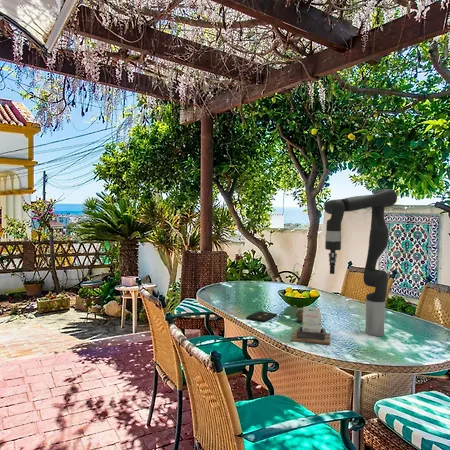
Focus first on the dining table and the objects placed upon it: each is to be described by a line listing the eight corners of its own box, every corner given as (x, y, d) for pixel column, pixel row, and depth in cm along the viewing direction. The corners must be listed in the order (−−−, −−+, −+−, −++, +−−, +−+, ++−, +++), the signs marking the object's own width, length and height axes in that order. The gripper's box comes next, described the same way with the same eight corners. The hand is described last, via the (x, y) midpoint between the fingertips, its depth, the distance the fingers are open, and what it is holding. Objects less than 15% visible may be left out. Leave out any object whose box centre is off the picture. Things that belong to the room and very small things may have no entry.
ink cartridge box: (320, 335, 192) (321, 306, 192) (319, 338, 188) (320, 308, 187) (303, 333, 195) (304, 304, 195) (301, 336, 191) (302, 306, 190)
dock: (294, 331, 202) (294, 324, 201) (330, 335, 197) (330, 327, 197) (290, 341, 186) (291, 332, 186) (329, 345, 181) (330, 336, 181)
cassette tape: (259, 314, 239) (259, 310, 239) (277, 316, 233) (277, 313, 233) (245, 320, 224) (246, 316, 224) (264, 323, 218) (264, 319, 218)
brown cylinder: (293, 321, 222) (294, 309, 222) (302, 319, 226) (302, 308, 226) (314, 328, 210) (314, 315, 210) (322, 326, 214) (323, 314, 214)
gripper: (325, 239, 201) (324, 270, 202) (325, 240, 188) (324, 274, 188) (340, 239, 199) (339, 271, 200) (341, 241, 186) (340, 275, 186)
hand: (332, 272), depth 194 cm, fingers open, 8 cm apart
